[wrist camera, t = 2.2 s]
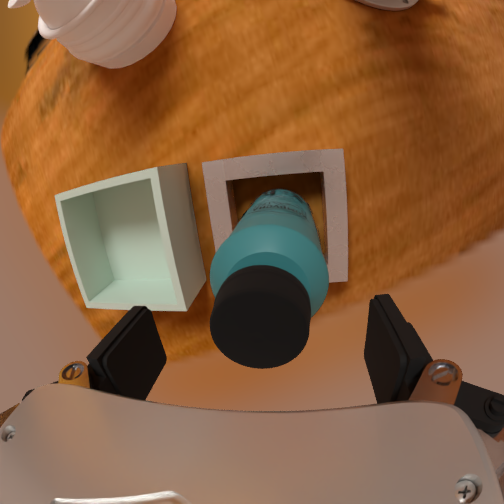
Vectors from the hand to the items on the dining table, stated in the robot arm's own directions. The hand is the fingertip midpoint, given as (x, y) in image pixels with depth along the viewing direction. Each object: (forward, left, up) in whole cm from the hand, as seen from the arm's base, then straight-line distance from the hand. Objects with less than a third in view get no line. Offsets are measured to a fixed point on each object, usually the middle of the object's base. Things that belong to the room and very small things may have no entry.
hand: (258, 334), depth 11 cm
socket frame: (0, 0, -19) cm, 19 cm away
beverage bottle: (0, 0, -19) cm, 19 cm away
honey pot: (+15, -27, -19) cm, 37 cm away
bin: (+16, 0, -19) cm, 25 cm away
